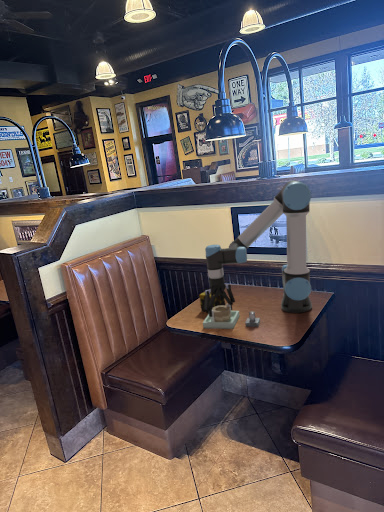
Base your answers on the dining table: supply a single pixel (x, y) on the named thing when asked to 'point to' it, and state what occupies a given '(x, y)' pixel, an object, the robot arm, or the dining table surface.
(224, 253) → the robot arm
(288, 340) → the dining table surface
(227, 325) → the tray
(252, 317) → the grey peg stand
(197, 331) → the dining table surface
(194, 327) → the dining table surface
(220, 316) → the ring
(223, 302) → the yellow cube with holes
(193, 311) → the dining table surface
